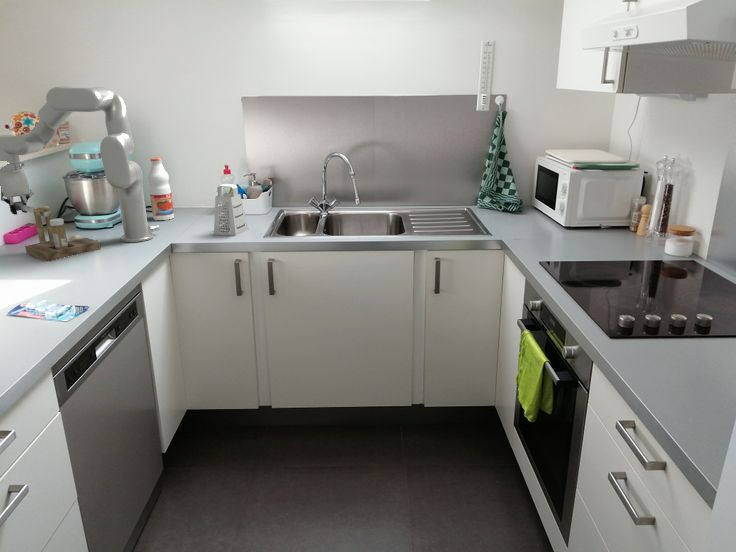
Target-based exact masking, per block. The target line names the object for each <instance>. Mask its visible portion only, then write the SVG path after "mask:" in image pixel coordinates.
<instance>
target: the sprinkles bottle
mask: <svg viewBox="0 0 736 552" xmlns="http://www.w3.org/2000/svg"><path fill="white" fill-rule="evenodd" d="M50 225H51V228H52V232H53V233H52V234H53V239H54V244H55V247H56V250H60V249H64V248H68V243H67V238H66V237H67V233H66V229H65V222H64V219H63V218H61V217H60V218H52V220H50Z"/></svg>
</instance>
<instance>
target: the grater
mask: <svg viewBox="0 0 736 552" xmlns="http://www.w3.org/2000/svg"><path fill="white" fill-rule="evenodd" d="M223 187H231V189H232V193H231V192H230V193H229V192H224V191H223ZM216 190H217V195H216V196H215V200H214V203H215V205H214V220H213V221H214V222H213V223H214V225H213V226H214V227H213V234H214V235H221V236H222V235H223V236H232V237H235V236H236V237H237V236H238V235H241V234H242V233H244V232H247V231H249V227H248V221H247V217H246V212H245V209H244V203H243V200H242V196H241V195H242V194H241V193H239V189H238V186H237V184H230V183H222V184H220V185H218V186H217V189H216ZM223 192H224V193H223Z"/></svg>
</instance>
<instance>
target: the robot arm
mask: <svg viewBox="0 0 736 552" xmlns="http://www.w3.org/2000/svg"><path fill="white" fill-rule="evenodd" d="M45 97H46V98H45V101H46V102H45V104H44V105H43V106H42V107H41V108H40V109H39V110H38V111H37V116H38V118H39V120H38V122H37V124H35V126H34V127H33V128H32V129H31V130H30V131H29V132H28V133H23V134H17V135H12V134H0V161H7V162H9V163H10V164H7V165H6V166H4V167H2V168H1V169H0V186H1V200H0V201H1V202H5V203H6V204H8V206H9V210H10V213H11V214H12V215H14V216H16V215H18V212H17V210H16V206H15V205H14V202H15V201H14V198H15V197H19V198H20V202H23V204H24V205H26V206H28V205H27V203H28V200H29V199H30V198H31V197H33V195H34V194H35V193H34V192H33V191H32V189H31V187H30V184H29V182H28V178H27V176H26V172H25V171H24V169H22V168H23V167H25V163H24V162H21V159H20V156H26V155H29V154H33V153H38V152H39V151H41V150H42V149H44V148H45V147H46V146H47V144H49V143H50V141H52V140H53V138H54V137H55V136H56V133H57V132H58V129H59V127H60V126H61V125H62V124H63V123H64V122H65V121H66V120H67V118H69V116H70V115H72V114H73V113H75V112H77V113H78V112H79V113H95V112H100V111H102V112H104V114H105V116H104V119H105V127H106V131H107V135H106V136H105V137H103V139H102V140H101V143H100V147H99V153H100V156H101V157H100V158H101V163H102V167H103V171H104V175H105V179H106V181H107V183H108V184H109V186H111V187H112V188H113V189H116V190H117V194H118V195H117V197H118V202H119V203H118V204H119V209H120V217H121V224H122V229H123V235H122V236H120V241H122V242H123V243H140V242H145V241H149V240H152V239H153V238H154V233H153V232H156V231H159V230H160V226H159V225H148V216H147V210H146V209H147V207H146V201H145V194H144V175H143V170H142V168H141V166H140V165H139V163H137V162H135V161H133V160H129V158H128V157H130V156H131V155H132V154H133V153H134V152H135V144H134V143H135V142H134V138H133V133H132V129H131V125H130V120H129V114H128V109H127V106H126V102H125V101H124V99H123V98H122V96H120V94H118V92H116V91H114V90H112V89H111V88H107V87H101V86H97V87H95V86H94V87H70V86H66V85H64V86H55V87H52V88H50V89H49V90H48V91H47V93H46V96H45ZM21 213H24V214H27V213H28V212H27V211H24V210H21Z"/></svg>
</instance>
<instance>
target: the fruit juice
mask: <svg viewBox="0 0 736 552" xmlns="http://www.w3.org/2000/svg"><path fill="white" fill-rule="evenodd" d="M150 162H151V167H150V170H149V174H147V175H148V176H147V180H148V184H149V190H148V191H149V197H150V206H151V213H152V219H153V220H154V221H157V220H165V221H170V220H172V218H173V219H174V218H175V213H174V205H173V204H174V203H173V197H172V189H171V186H170V184H169V183H170V182H169V181H170V175H169V173H168V172H167V171H166V170H165V167H164V165H163V158H162V157H151V158H150ZM169 219H170V220H169Z"/></svg>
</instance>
